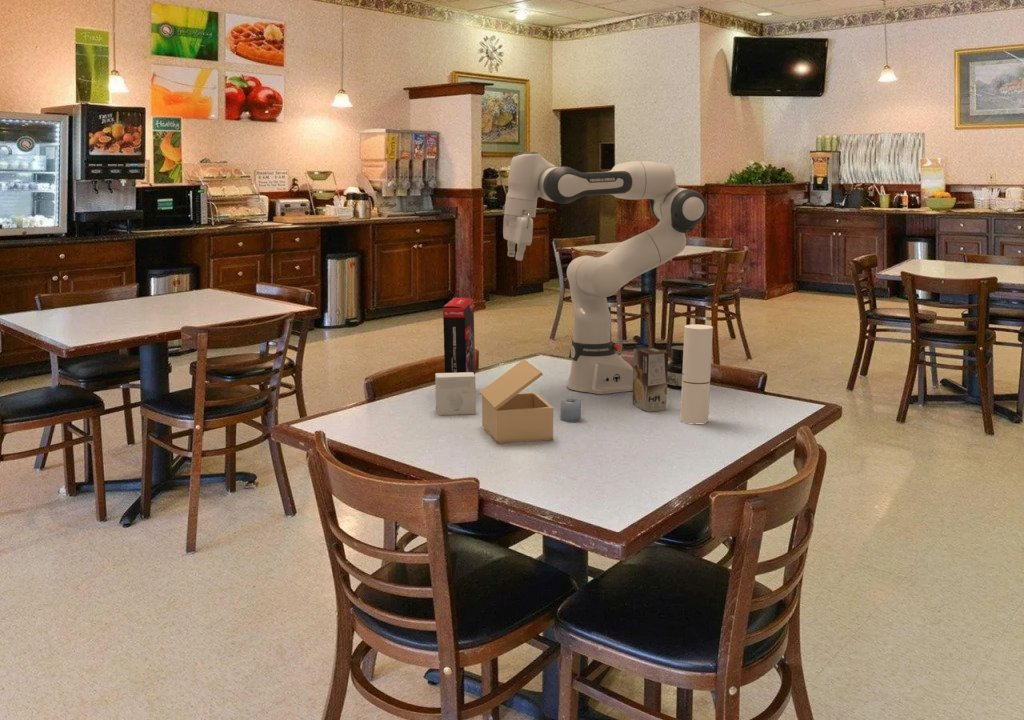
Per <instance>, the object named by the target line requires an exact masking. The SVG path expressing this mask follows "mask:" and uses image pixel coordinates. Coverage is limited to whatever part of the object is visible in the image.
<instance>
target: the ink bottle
mask: <svg viewBox="0 0 1024 720" xmlns="http://www.w3.org/2000/svg"><path fill="white" fill-rule="evenodd" d="M683 348H684V345H673V346H671V347H670V360H671V361H669V362H668V376H667V388H669V389H674V390H682V370H683Z"/></svg>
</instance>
